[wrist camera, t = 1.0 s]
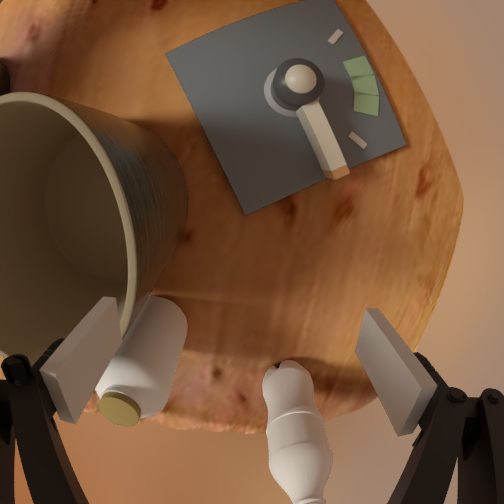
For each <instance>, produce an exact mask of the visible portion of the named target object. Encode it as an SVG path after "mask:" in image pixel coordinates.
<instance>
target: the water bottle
mask: <svg viewBox="0 0 504 504" xmlns="http://www.w3.org/2000/svg"><path fill="white" fill-rule="evenodd" d="M262 388H263V396H264V399H265V401H266V403H267V407H268V424H267V429H266V435H267V437H268V448H269V468H270V471H271V473H272V476H273V477H274V479H275V480H276V481H277V483H278V484H279V485H280V486H281V487H282V488H283V490H285V492H286V493H287V494H288V495H289V497H290V498H291V501H292V504H326V500H325V499H323V491H324V487H325V484H326V482H327V480H328V477H329V474H330V472H331V469H332V464H333V454H332V451H331V449H330V447H329V443H328V440H327V436H326V433H325V429H324V420H323V417H322V415H321V414H320V412H319V411H318V409H317V407H316V405H315V402H314V395H313V392H314V385H313V381H312V378H311V375H310V373H309V372H308V370H306V369H305V368H304V367H302V366H301V365H300V364H299V363H297V362H295V361H293V360H285V361H282V362H281V364H280V366H279V368H278V369H277V368H276V367H275V366H274V365H273V366H271V367H270V368H269V369H268V370H267V372H266V374H265V376H264V379H263V384H262Z"/></svg>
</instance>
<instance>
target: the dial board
mask: <svg viewBox="0 0 504 504" xmlns="http://www.w3.org/2000/svg"><path fill="white" fill-rule="evenodd" d="M166 56H167V58H168V60H169V62H170V64H171V66H172V68H173V70H174V72H175V74H176V76H177V78H178V80H179V82H180V84H181V86H182V88H183V90H184V92H185V94H186V96H187V98H188V100H189V102H190V104H191V106H192V108H193V110H194V112H195V114H196V116H197V118H198V120H199V122H200V124H201V126H202V128H203V130H204V132H205V134H206V136H207V138H208V140H209V142H210V144H211V146H212V148H213V150H214V152H215V154H216V156H217V158H218V160H219V162H220V164H221V166H222V168H223V170H224V172H225V174H226V176H227V178H228V180H229V182H230V184H231V186H232V188H233V190H234V192H235V194H236V196H237V199H238V201H239V203H240V205H241V207H242V209H243V211H244V213H245V215H248V214H250V213H252V212H255V211H257V210H259V209H261V208H263V207H265V206H268V205H270V204H272V203H274V202H276V201H278V200H281V199H283V198H285V197H287V196H289V195H292V194H294V193H296V192H298V191H300V190H303V189H305V188H307V187H309V186H312V185H314V184H316V183H318V182H321V181H323V180H325V179H327V178H326V177H325V176H324V173H323V171H322V169H321V166H320V164H319V162H318V160H317V157H316V155H315V153H314V151H313V148H312V146H311V144H310V142H309V140H308V137H307V135H306V133H305V131H304V129H303V127H302V125H301V122H300V120H299V118H298V116H297V114H296V111H290V110H286V109H284V108H282V107H280V106H279V105H278V104H277V103H276V102H275V101H274V100H273V98H272V95H271V91H270V88H271V83H272V80H273V78H274V75H275V72H276V70H277V68H278V67H279V66H280V65H281V64H282V63H283V62H284V61H286V60H289V59H292V58H302V59H306V60H309V61H311V62H312V63H314V64H315V65H316V66H317V67H318V68H319V69H320V70H321V72H322V74H323V77H324V83H325V84H324V89H323V92H322V94H321V95H320V96H319V97H318V98H317V99H316V100H315V101H317V100H318V102H319V104H320V106H321V108H322V110H323V112H324V114H325V116H326V118H327V121H328V123H329V125H330V127H331V129H332V132H333V134H334V136H335V138H336V141H337V143H338V145H339V147H340V150H341V152H342V154H343V157H344V159H345V162H346V164H347V167H348V169H350V168H353V167H355V166H357V165H360V164H362V163H364V162H367V161H369V160H371V159H374V158H376V157H379V156H381V155H383V154H386V153H388V152H390V151H393V150H395V149H398V148H400V147H403V146H405V145H406V142H405V139H404V137H403V134H402V132H401V129H400V126H399V124H398V121H397V119H396V117H395V114H394V112H393V109H392V107H391V105H390V102H389V100H388V98H387V96H386V93H385V91H384V89H383V87H382V85H381V83H380V81H379V79H378V76H377V74H376V72H375V70H374V68H373V66H372V64H371V62H370V61H369V59H368V57H367V55H366V53H365V51H364V49H363V47H362V46H361V44H360V42H359V40H358V38H357V37H356V35H355V33H354V31H353V30H352V28H351V26H350V25H349V23H348V21H347V20H346V18H345V16H344V15H343V13H342V12H341V10H340V9H339V7H338V5H337V4H336V2H335V1H334V0H304V1H300V2H296V3H292V4H289V5H285V6H282V7H278V8H275V9H272V10H269V11H265V12H262V13H259V14H256V15H253V16H251V17H248V18H245V19H242V20H240V21H237V22H234V23H232V24H229V25H227V26H224V27H222V28H219V29H217V30H214V31H212V32H210V33H208V34H205V35H203V36H201V37H199V38H196V39H194V40H192V41H190V42H188V43H186V44H184V45H182V46H180V47H178V48H176V49H174V50H172V51H170V52H168V53H166ZM313 102H314V101H313Z"/></svg>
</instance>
